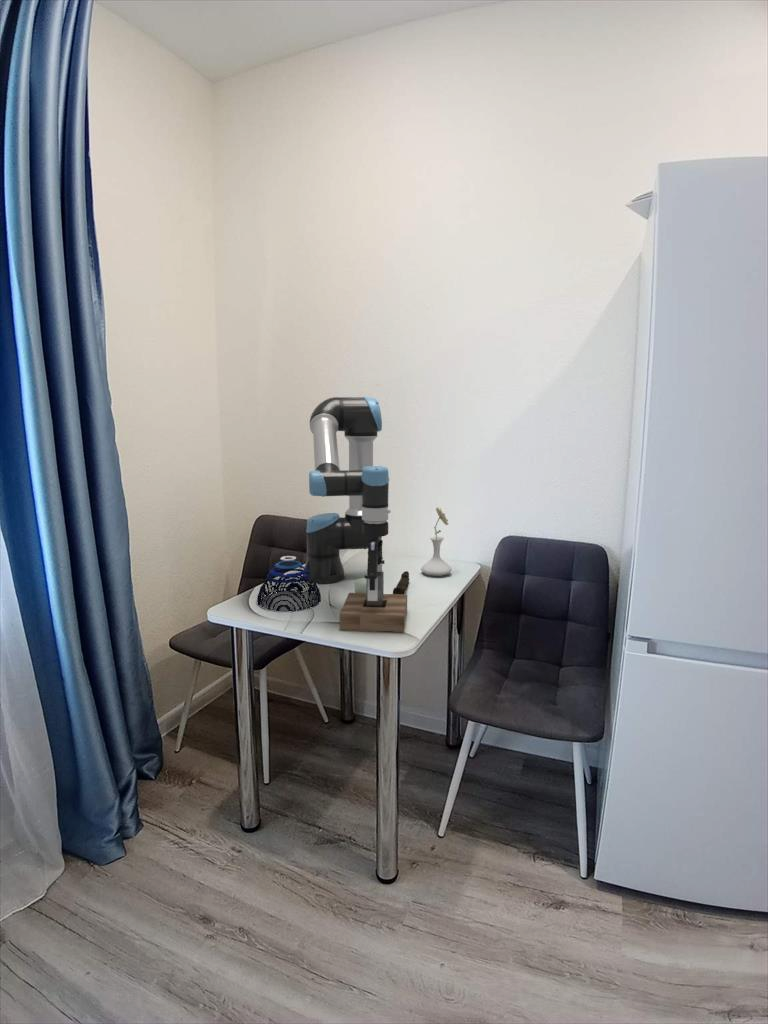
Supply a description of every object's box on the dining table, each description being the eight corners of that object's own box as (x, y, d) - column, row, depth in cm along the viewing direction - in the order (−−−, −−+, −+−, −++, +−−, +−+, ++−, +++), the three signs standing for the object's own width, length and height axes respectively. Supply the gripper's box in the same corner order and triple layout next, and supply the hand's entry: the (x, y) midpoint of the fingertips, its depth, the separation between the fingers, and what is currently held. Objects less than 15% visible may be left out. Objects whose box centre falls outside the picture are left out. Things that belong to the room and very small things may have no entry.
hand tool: (404, 599, 186) (404, 585, 185) (392, 598, 187) (392, 585, 186) (414, 582, 204) (414, 570, 204) (403, 582, 205) (403, 569, 204)
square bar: (368, 616, 170) (368, 571, 167) (383, 617, 170) (383, 571, 167) (366, 622, 166) (366, 575, 163) (381, 622, 165) (382, 576, 163)
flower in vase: (450, 579, 208) (452, 511, 203) (419, 577, 210) (420, 510, 205) (452, 569, 220) (453, 505, 216) (422, 567, 222) (423, 504, 218)
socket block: (349, 608, 177) (349, 592, 176) (407, 610, 176) (407, 594, 175) (339, 630, 159) (339, 613, 159) (404, 632, 158) (404, 615, 157)
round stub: (356, 598, 187) (356, 577, 186) (381, 598, 186) (381, 578, 185) (353, 606, 179) (353, 584, 178) (378, 607, 178) (378, 585, 177)
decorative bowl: (324, 591, 194) (324, 550, 191) (316, 612, 174) (315, 566, 171) (265, 591, 194) (264, 549, 191) (251, 611, 174) (249, 566, 172)
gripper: (384, 530, 150) (384, 607, 154) (391, 513, 174) (391, 580, 178) (356, 529, 150) (356, 606, 154) (367, 512, 175) (367, 579, 179)
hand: (375, 592), depth 166 cm, fingers open, 13 cm apart
